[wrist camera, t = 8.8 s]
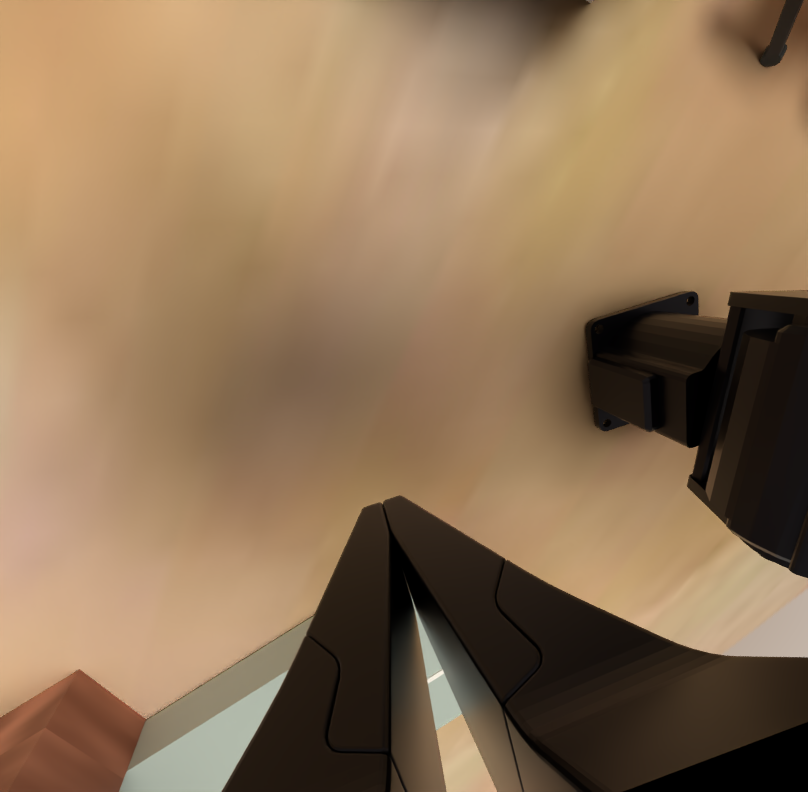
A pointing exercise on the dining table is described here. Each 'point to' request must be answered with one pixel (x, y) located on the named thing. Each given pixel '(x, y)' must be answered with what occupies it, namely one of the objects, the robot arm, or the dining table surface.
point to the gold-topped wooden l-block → (68, 740)
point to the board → (237, 719)
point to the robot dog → (781, 34)
